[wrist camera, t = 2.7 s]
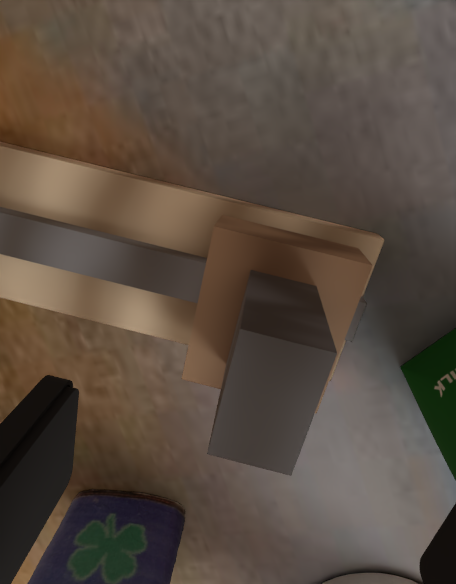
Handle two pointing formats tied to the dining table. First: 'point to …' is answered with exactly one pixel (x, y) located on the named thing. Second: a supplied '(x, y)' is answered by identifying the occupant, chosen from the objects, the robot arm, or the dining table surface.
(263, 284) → the carriage
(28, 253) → the rail
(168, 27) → the dining table surface
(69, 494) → the dining table surface
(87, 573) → the flask
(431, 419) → the milk carton
